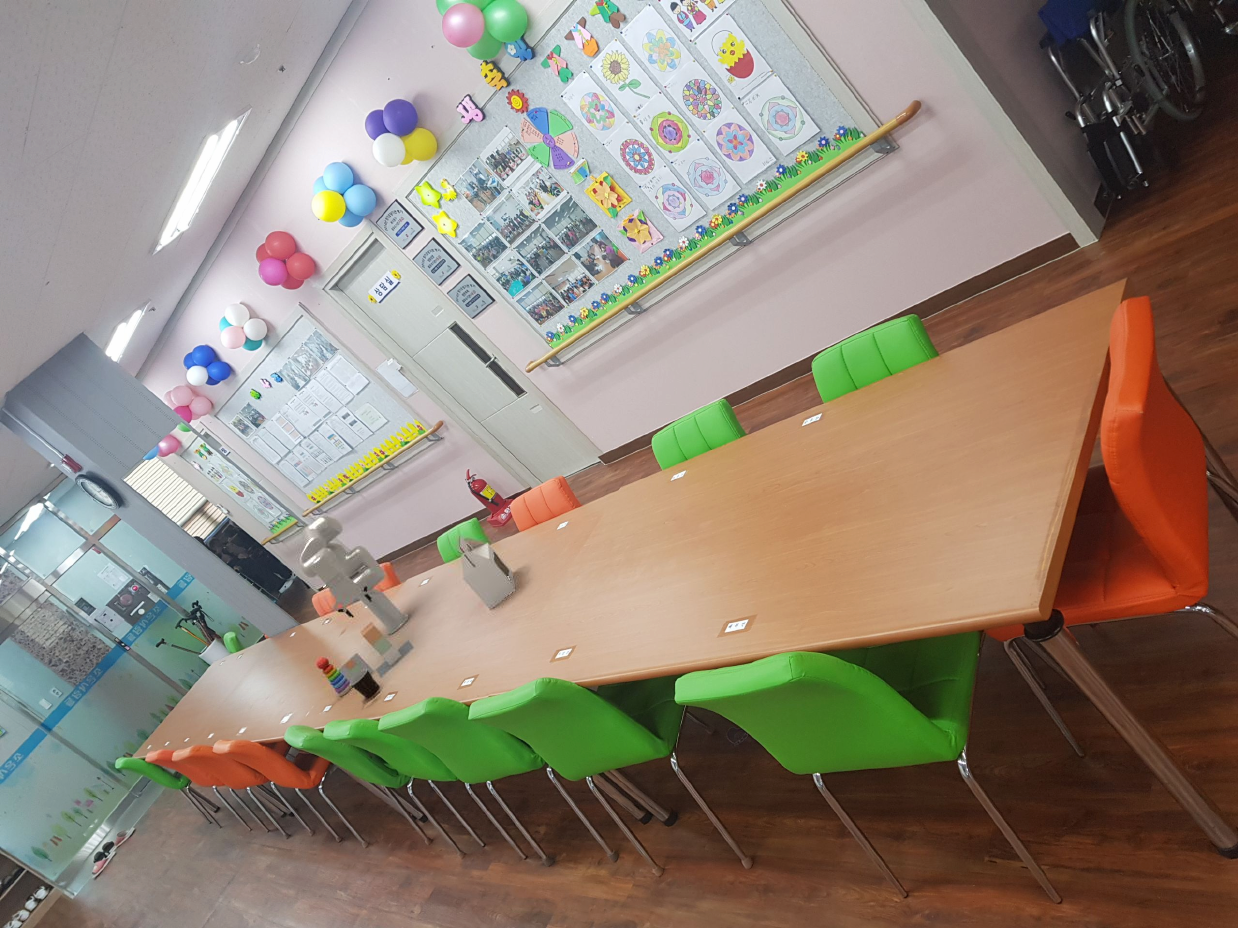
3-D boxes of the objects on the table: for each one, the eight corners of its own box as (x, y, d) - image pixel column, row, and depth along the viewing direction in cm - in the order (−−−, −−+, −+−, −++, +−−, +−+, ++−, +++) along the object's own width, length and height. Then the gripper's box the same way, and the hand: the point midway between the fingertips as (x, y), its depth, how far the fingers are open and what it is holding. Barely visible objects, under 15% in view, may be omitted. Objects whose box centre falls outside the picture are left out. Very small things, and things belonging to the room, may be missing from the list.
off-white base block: (387, 661, 355) (378, 651, 353) (398, 651, 356) (389, 641, 355) (390, 665, 347) (381, 655, 346) (401, 655, 349) (392, 645, 347)
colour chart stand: (356, 688, 355) (337, 668, 352) (374, 671, 358) (355, 651, 355) (357, 690, 351) (338, 670, 348) (376, 673, 355) (357, 653, 351)
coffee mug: (368, 693, 339) (352, 677, 336) (385, 682, 338) (369, 665, 335) (362, 710, 328) (345, 692, 325) (379, 698, 327) (362, 680, 324)
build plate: (377, 671, 356) (375, 669, 355) (410, 642, 361) (408, 640, 361) (382, 679, 343) (380, 677, 343) (416, 649, 349) (414, 647, 348)
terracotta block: (369, 641, 351) (360, 631, 350) (380, 631, 353) (371, 621, 351) (372, 645, 344) (362, 635, 342) (383, 635, 346) (373, 625, 344)
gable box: (488, 591, 353) (447, 542, 345) (513, 572, 353) (472, 523, 345) (490, 610, 331) (446, 559, 324) (516, 590, 332) (472, 539, 324)
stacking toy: (349, 692, 356) (319, 662, 351) (336, 699, 359) (307, 669, 354) (357, 680, 363) (328, 650, 358) (345, 687, 366) (316, 657, 361)
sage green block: (378, 651, 353) (369, 641, 351) (389, 641, 355) (380, 631, 353) (381, 655, 346) (372, 645, 344) (392, 645, 347) (383, 635, 346)
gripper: (319, 596, 340) (347, 625, 345) (352, 567, 345) (379, 596, 351) (317, 592, 347) (344, 621, 352) (350, 564, 352) (376, 593, 357)
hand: (362, 608), depth 351 cm, fingers open, 9 cm apart
